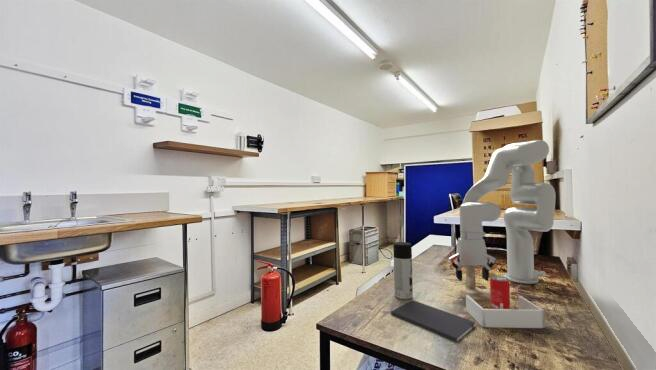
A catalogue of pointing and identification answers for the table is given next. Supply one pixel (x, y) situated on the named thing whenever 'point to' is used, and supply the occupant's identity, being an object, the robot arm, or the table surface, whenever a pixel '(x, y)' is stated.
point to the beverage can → (499, 292)
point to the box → (508, 315)
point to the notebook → (434, 320)
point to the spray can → (403, 270)
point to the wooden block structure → (473, 287)
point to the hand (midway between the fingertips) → (472, 279)
